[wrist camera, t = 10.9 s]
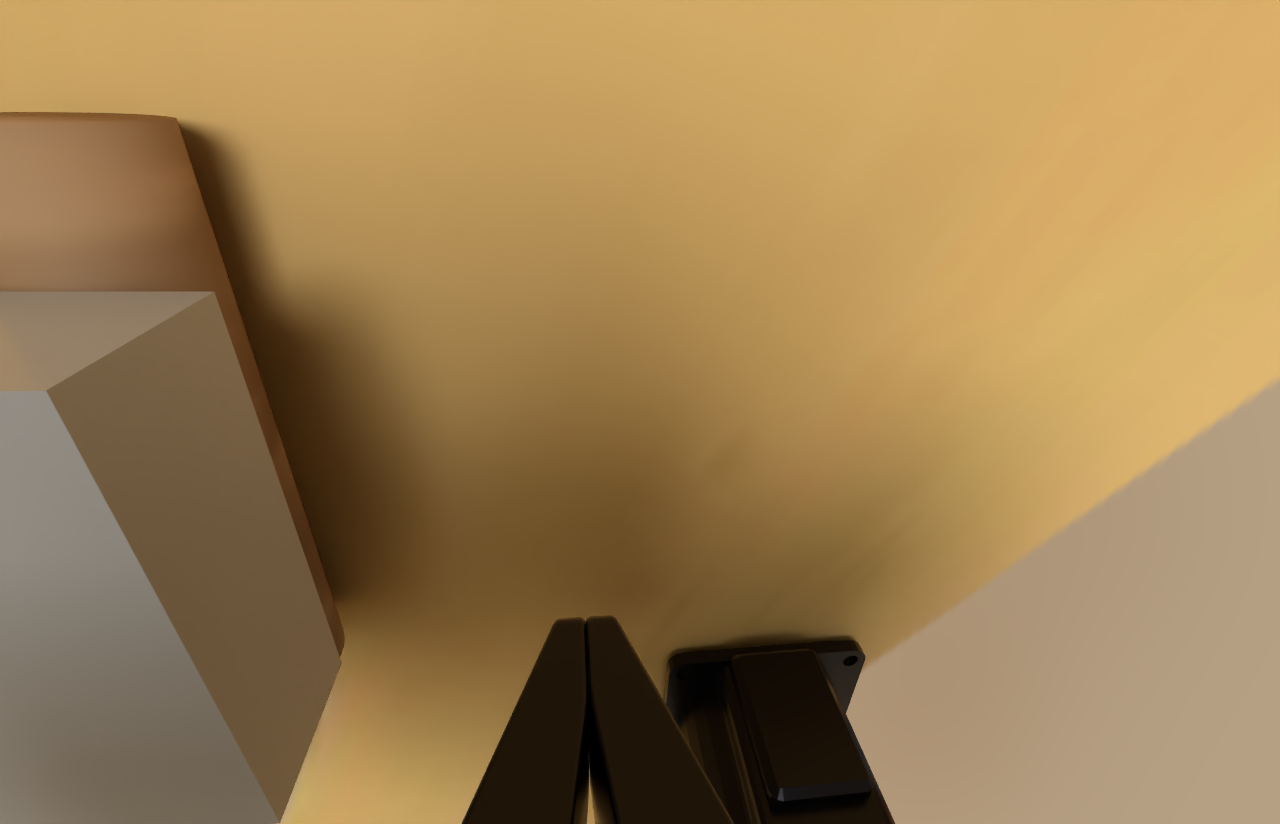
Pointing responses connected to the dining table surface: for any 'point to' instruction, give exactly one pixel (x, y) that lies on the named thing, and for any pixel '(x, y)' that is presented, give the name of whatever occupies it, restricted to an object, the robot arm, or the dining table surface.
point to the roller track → (125, 240)
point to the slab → (146, 572)
